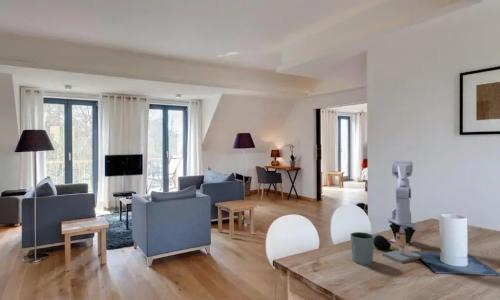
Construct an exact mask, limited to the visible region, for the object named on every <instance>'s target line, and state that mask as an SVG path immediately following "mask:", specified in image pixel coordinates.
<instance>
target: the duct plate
mask: <svg viewBox="0 0 500 300" xmlns="http://www.w3.org/2000/svg"><path fill="white" fill-rule="evenodd" d="M382 257H384V258H387V259H390V260H392V261H395V262H398V263H400V264H404V263H408V262H411V261H415V260H419V259H421V258H422V255H421V254H418V253H416V252H413V251H410V250H407V249H405V246H400V245H399V248H398V250H395V251H392V250H390V251H388V252H383V253H382ZM420 257H421V258H420Z"/></svg>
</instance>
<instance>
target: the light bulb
mask: <svg viewBox="0 0 500 300" xmlns="http://www.w3.org/2000/svg"><path fill="white" fill-rule="evenodd" d="M373 247H375V248H377V249H379V250H390V251H395V250H399V248H398V246H396V245H394V244H392V243H391V242H390V240H388V239H387V238H386V236H385V237H384V236H383V235H380V234H378V235H375V236H374V244H373Z"/></svg>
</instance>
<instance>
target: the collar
mask: <svg viewBox="0 0 500 300" xmlns="http://www.w3.org/2000/svg"><path fill="white" fill-rule="evenodd" d="M395 244H396V245H397V246H399V247H400V246H404V247H407V246H410V243H408V244H407V243H406V235H405V233H402V232H398V233H396V243H395Z"/></svg>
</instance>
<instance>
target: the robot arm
mask: <svg viewBox="0 0 500 300" xmlns="http://www.w3.org/2000/svg"><path fill="white" fill-rule="evenodd" d="M413 167H414V166H413V162H412V160H409V161H406V160H404V161H403V160H392V163H391V172H392V173H391V174H392V176H393V177H396V188H395V203H396V205H395V207H394V208H393V209H392V210H391V213H390V215H391V216H390V218H388V219H387V223H388V224H389V228H390V229H391V231H392V233H393V238H391V239H389V242H392V243H395V244H396V233H398V232H402V233H405V235H406V243H407V244H408V243H409V244H412V243H414V240H413V236H414V234H415V232H416V231H417V230H419V224H415V223H413V222H412V212H411V209H410V208H411V203H410V202H411V200H412V188H411V186H410V179H409V177H412V173H413Z"/></svg>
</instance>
